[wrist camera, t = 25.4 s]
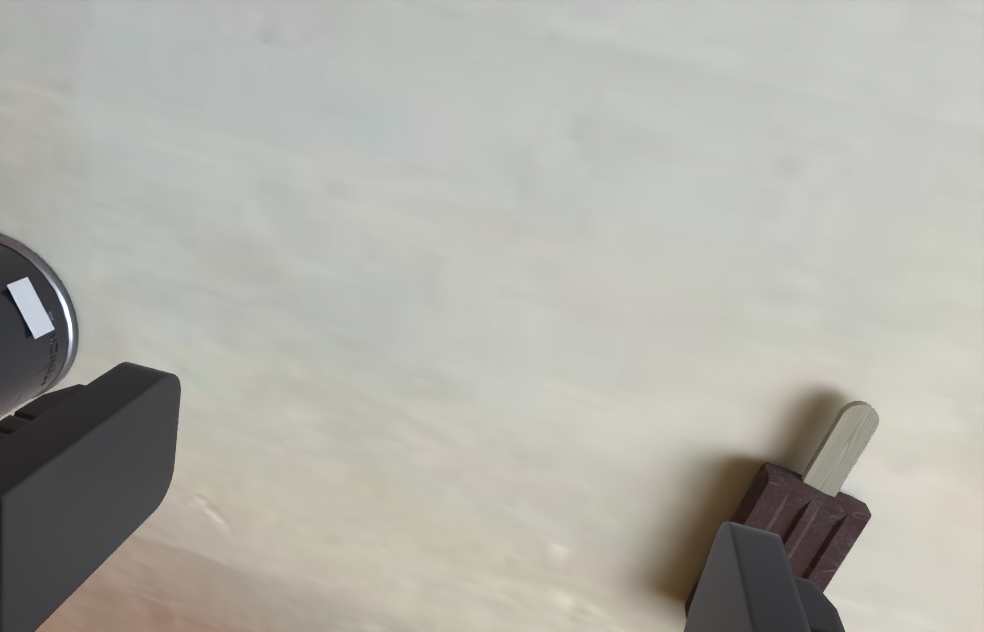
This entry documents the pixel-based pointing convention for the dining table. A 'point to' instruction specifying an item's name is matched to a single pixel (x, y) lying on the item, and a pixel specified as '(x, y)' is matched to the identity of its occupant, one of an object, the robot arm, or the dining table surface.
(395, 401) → the dining table surface
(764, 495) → the ice cream bar
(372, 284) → the dining table surface
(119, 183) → the dining table surface
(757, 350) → the dining table surface
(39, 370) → the robot arm
